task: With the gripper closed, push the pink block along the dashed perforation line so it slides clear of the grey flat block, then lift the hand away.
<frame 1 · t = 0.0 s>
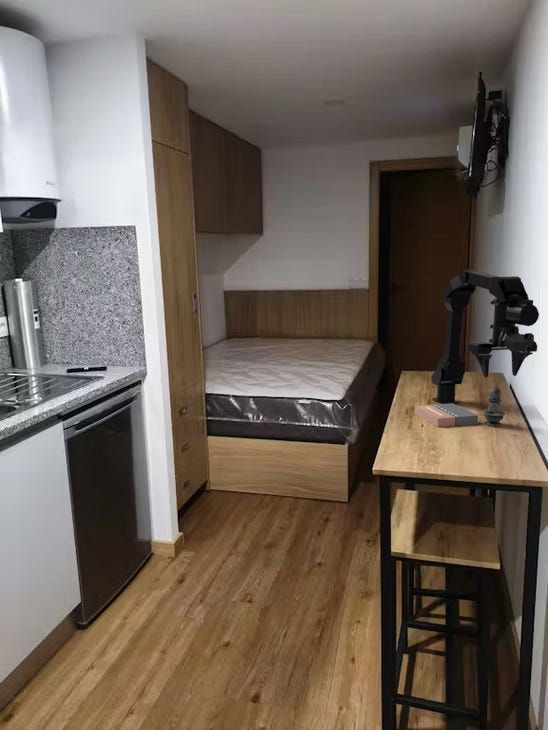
hand: (500, 376, 159), 15 cm above the table, fingers open, 9 cm apart
pink block: (434, 415, 169), point 1 cm above the table, slide at 0.0 cm
grey flat block: (453, 417, 170), on the table
dark grey tiered figure: (493, 425, 164), on the table
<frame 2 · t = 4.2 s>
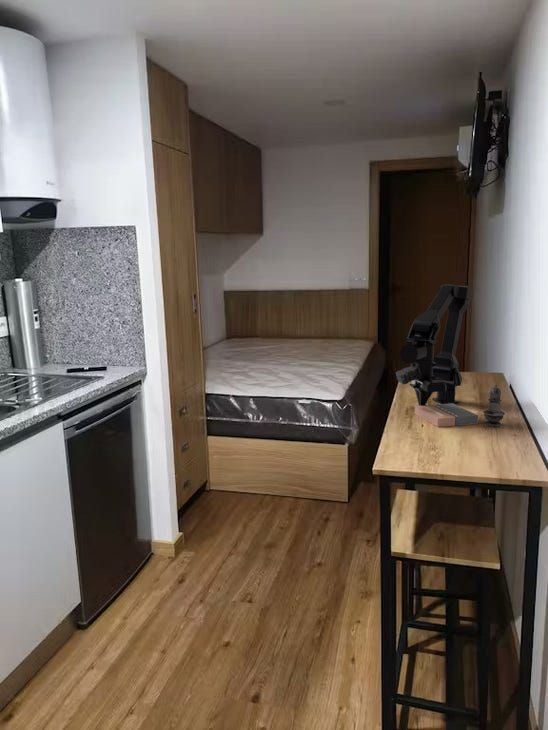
hand: (421, 407, 176), 2 cm above the table, fingers closed
pink block: (434, 415, 169), point 1 cm above the table, slide at 0.1 cm, touching gripper
everything else where it was.
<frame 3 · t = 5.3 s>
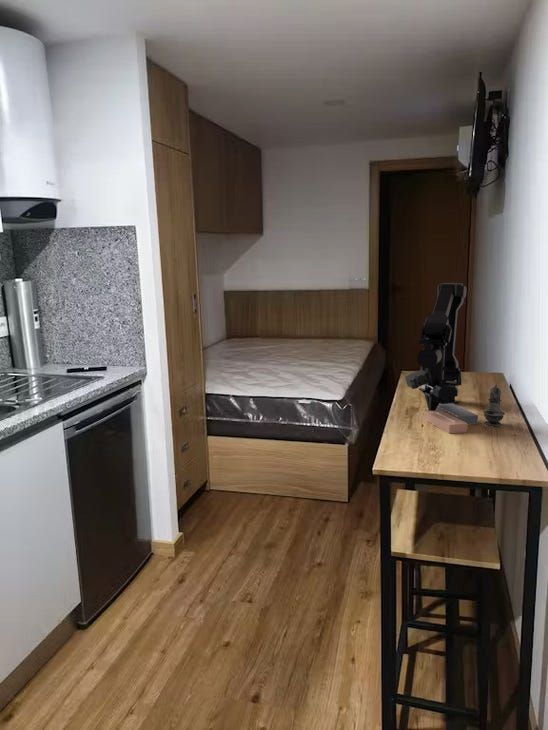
hand: (431, 413, 170), 2 cm above the table, fingers closed
pink block: (445, 421, 163), point 1 cm above the table, slide at 6.3 cm, touching gripper
everything else where it was.
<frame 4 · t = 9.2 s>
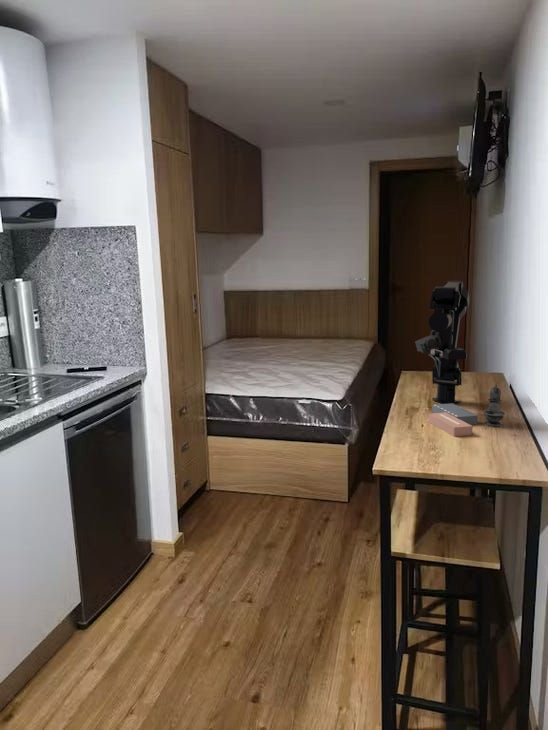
hand: (440, 377, 176), 11 cm above the table, fingers closed
pink block: (449, 423, 160), point 1 cm above the table, slide at 8.8 cm
everything else where it was.
at the end: pink block slide at 8.8 cm; dark grey tiered figure moved 0.2 cm from its start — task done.
